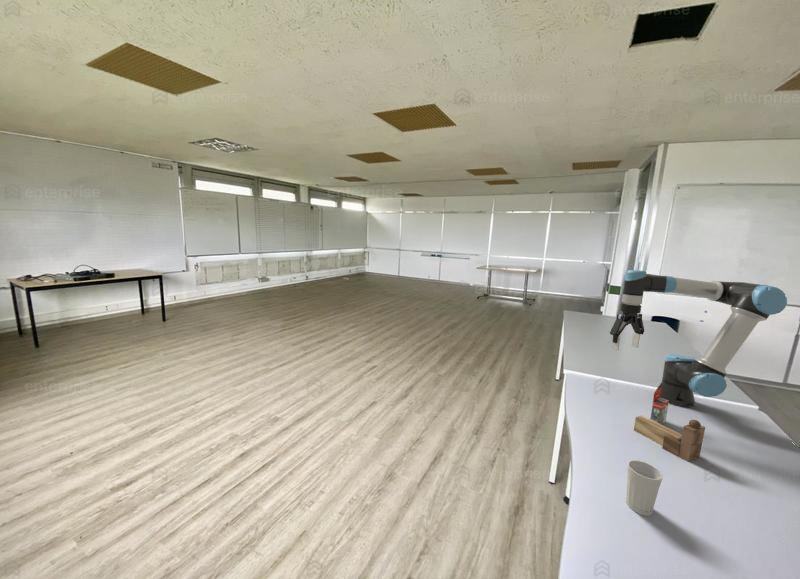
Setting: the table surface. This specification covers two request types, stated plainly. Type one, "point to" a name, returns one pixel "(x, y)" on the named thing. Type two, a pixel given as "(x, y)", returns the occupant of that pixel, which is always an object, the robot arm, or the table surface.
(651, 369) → the table surface
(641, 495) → the cup
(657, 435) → the rail
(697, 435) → the brown domed block
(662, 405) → the ink box
